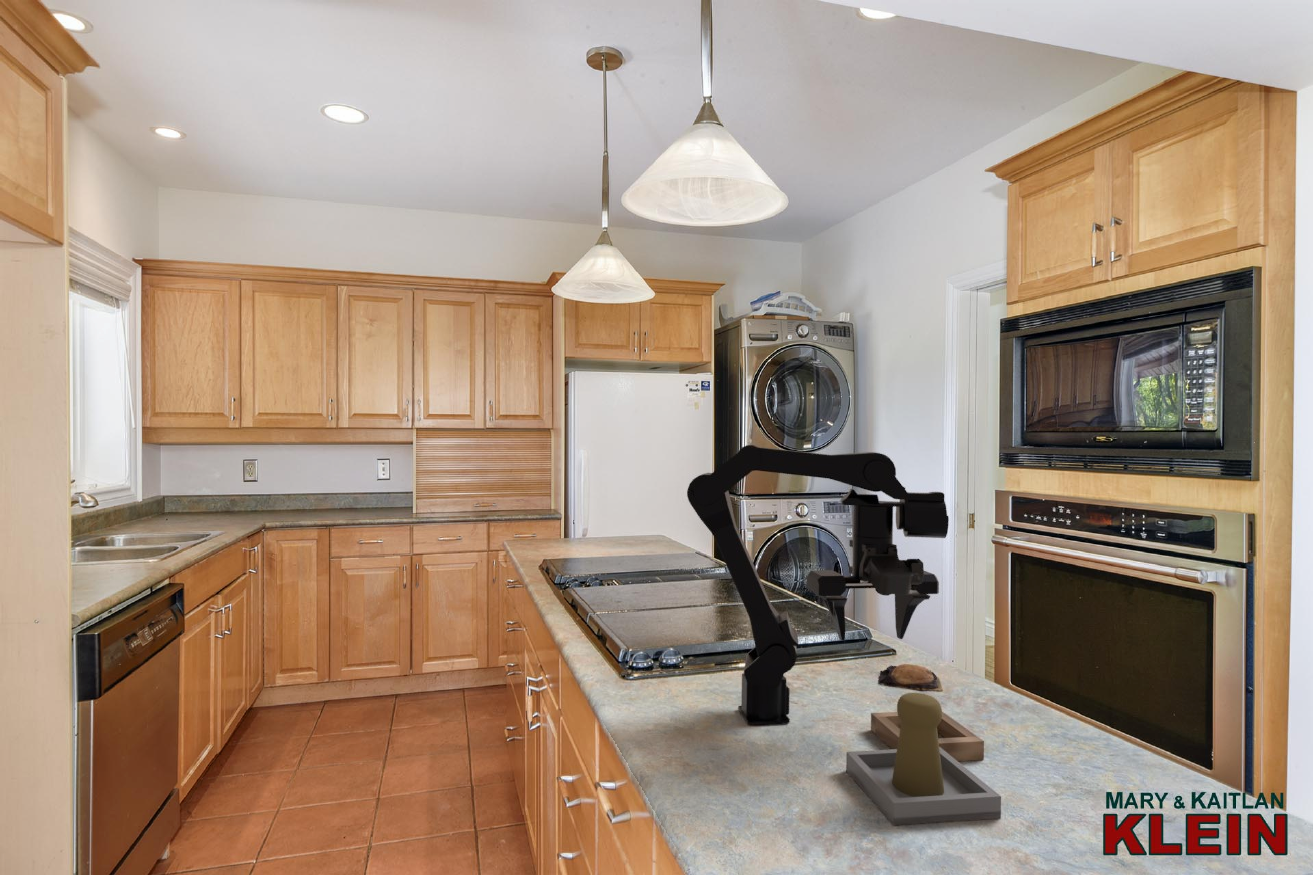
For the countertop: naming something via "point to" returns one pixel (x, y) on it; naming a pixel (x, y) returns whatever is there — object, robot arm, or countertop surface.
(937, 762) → the cork
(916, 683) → the bread roll
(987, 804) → the tray
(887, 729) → the pin holder
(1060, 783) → the countertop surface
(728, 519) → the robot arm
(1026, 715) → the countertop surface
